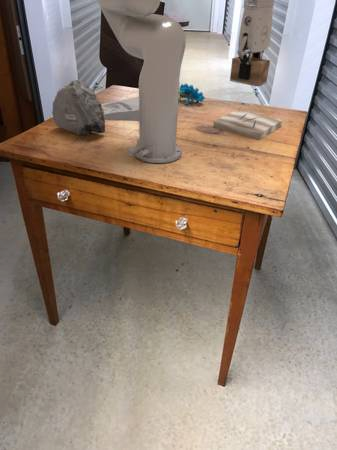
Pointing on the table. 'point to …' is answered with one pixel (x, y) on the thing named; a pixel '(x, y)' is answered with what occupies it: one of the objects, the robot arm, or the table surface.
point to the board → (248, 124)
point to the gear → (190, 93)
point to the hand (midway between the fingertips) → (248, 76)
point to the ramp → (122, 110)
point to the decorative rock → (78, 109)
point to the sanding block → (256, 74)
